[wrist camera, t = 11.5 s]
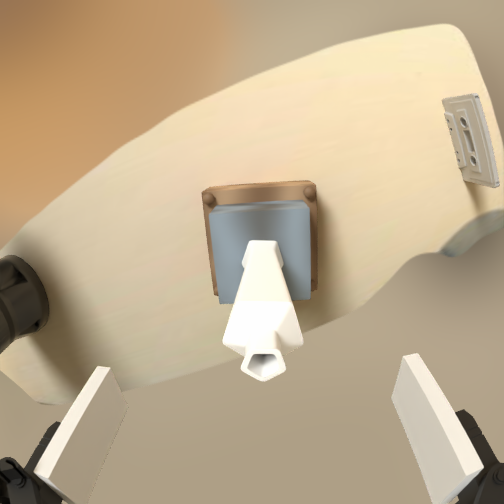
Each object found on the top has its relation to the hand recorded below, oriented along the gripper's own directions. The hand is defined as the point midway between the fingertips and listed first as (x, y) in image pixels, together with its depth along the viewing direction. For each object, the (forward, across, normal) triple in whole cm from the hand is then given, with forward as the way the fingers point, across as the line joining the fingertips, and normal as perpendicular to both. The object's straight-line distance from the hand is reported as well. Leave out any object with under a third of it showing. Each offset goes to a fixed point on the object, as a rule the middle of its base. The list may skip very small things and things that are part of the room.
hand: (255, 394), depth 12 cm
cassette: (+27, -28, -12) cm, 41 cm away
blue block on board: (+27, 0, 0) cm, 27 cm away
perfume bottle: (+17, 0, 0) cm, 17 cm away
